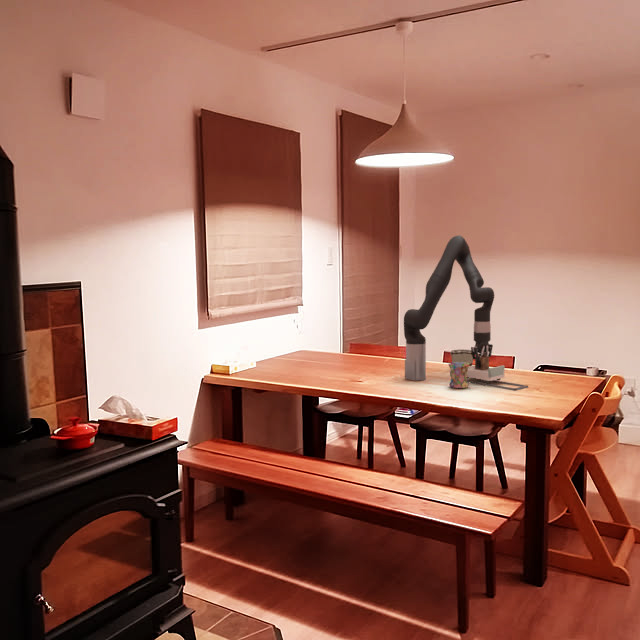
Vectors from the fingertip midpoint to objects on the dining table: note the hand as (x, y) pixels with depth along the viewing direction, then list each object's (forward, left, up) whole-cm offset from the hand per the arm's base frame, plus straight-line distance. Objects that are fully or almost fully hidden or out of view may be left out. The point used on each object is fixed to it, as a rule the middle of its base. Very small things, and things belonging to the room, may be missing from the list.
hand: (481, 367), depth 296 cm
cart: (0, 0, -6) cm, 6 cm away
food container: (+19, +26, -7) cm, 33 cm away
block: (0, 0, -1) cm, 1 cm away
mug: (-18, 0, -7) cm, 20 cm away
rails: (0, -5, -7) cm, 9 cm away
